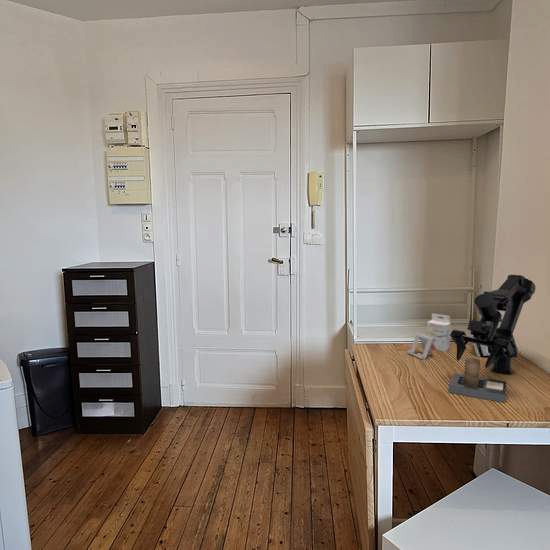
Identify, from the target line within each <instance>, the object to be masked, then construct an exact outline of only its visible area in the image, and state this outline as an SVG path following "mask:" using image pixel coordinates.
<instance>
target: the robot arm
mask: <svg viewBox="0 0 550 550" xmlns="http://www.w3.org/2000/svg"><path fill="white" fill-rule="evenodd" d="M535 292H536V284H535V283H534V282H533V281H532V280H530V279H528V278H526V277H525V275H522V274H508V275H507V278H506V280H505V281H503V283H502V284H501V285H500V287H499V288H497V289H495V290H491V291H487V290H485V291H483V293H481V294H479V295H476V297H474V305H475V307H476V309H477V311H478V314H479V315H480V319H479V321H478V320H472V319H470V320H469V321H468V325H467V328H466V329H467V330H468V331H470V332H469V333H470V335H471V336H469V335H467V334H466V332H465V331H463V330H459V329H453V330H451V331H450V338H451V339H452V341H453V342H454V344H456V361H457V362H459V361H460V360H461V359H462V357H463V354H464V353H465V351H466V350H467V346H466V345H468V343H471V344H473V343H475V344H480V345H485V346H487V347H488V353H490V355H488V357H487V359H486V361H485V365H484V368H485V369H488V368H490V367H491V368H490V371H491V372H494V373H500V374H507V375H508V374H509V375H512V372H513V371H512V369H513V368H512V359H513V358H518V353H519V349H518V346H517V344H516V340H515V337H514V331H515V329H516V325H517V323H518V320H519V317H520V315H521V312H522V309H523V308H524V307H523V306H524V304H525V303H527V302H528V301H530V300H531V299H532V296H533V295H534V294H535ZM501 311H502V312H504V314H503V316H502V313H501ZM472 335H473V337H472Z"/></svg>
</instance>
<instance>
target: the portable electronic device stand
mask: <svg viewBox="0 0 550 550" xmlns="http://www.w3.org/2000/svg"><path fill="white" fill-rule="evenodd" d="M419 341H420V344H421V346H422V350H423V353H420V352H417V353H415V351H416V348H417V346H418V343H419ZM435 341H436V339H435V338H432V337H429V336H427V334H426V335H425V334H422V333H421V332H418V333H416V334H415V337H414V341H413V343H412V346H411V349H409V348H407V351H406V352H407V354H408V355H410V356H413V357H414V358H415V357H416V358H418V359H420V360H422V361H426V359H427V357H428V354H429V355H430V356H432V357H434V354H433V349H431V347H430V345H431V343H435Z"/></svg>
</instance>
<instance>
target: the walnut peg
mask: <svg viewBox="0 0 550 550" xmlns="http://www.w3.org/2000/svg"><path fill="white" fill-rule="evenodd" d="M480 366H481V361H480V360H479V359H478V358H473V357H467V358H464V371H463V372H464V373H463V375H464V384H463V385H466V386H471V387H477V388H480V387H479V377H480V371H481V370H480V369H481V367H480Z"/></svg>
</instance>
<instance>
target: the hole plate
mask: <svg viewBox="0 0 550 550" xmlns="http://www.w3.org/2000/svg"><path fill="white" fill-rule="evenodd" d="M448 392H449V394H455V395H461V396H466V397H472V398H476V399H477V398H478V399H482V400H487V401H494V402H499V403H506V396H507V395H506V393H507V380H506V381H505V380H500V379H492V378H487V377H481V376H479V388H477V387H471V386H466V385H464V374H461V373H456V372H454V373H453V374H452V377H451V379H450V382H449V384H448Z"/></svg>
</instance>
